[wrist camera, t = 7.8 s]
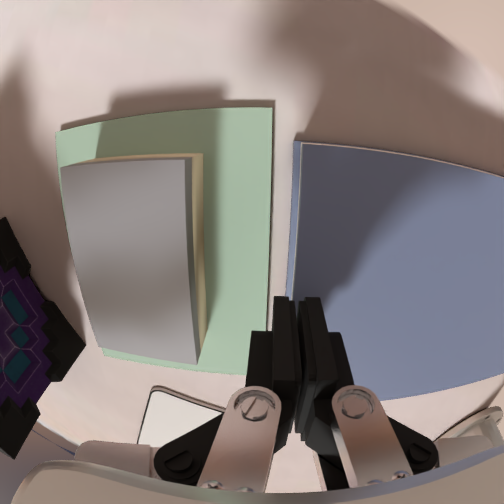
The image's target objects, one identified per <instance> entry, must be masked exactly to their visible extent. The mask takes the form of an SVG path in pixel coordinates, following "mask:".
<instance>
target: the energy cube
mask: <svg viewBox="0 0 504 504" xmlns="http://www.w3.org/2000/svg"><path fill="white" fill-rule="evenodd" d="M30 268H31V265H30V263H29V261H28V259H27V258H26V256H25V254H24V252H23V250H22V249H21V247H20V245H19V243H18V241H17V239H16V237H15V235H14V233H13V231H12V229H11V227H10V225H9V223H8V221H7V219H6V217H4V218H2V219H0V452H2V453H4V454H5V455H7V456H9V457H11V458H12V459H15V458H16V456H17V454H18V452H19V451H20V449H21V447H22V445H23V443H24V441H25V440H26V438H27V436H28V434H29V433H30V431H31V429H32V428H33V426H34V424H35V422H36V421H37V419H38V417H39V416H40V412H39V410H38V407H37V405H36V403H37V402H38V400H39V399H40V397H41V396H42V394H43V393H44V391H45V390H46V388H47V387H48V386H49V384H50V383H51V382H60V381H62V380H63V378H64V377H65V375H66V374H67V372H68V371H69V369H70V368H71V366H72V365H73V363H74V362H75V361H76V359H77V358H78V356H79V355H80V353H81V352H82V351H83V349H84V348H85V346H86V344H85V343H84V342H83V340H82V339H81V338H80V337H79V335H78V334H77V333H76V332H75V330H74V329H73V328H72V326H71V325H70V324H69V322H68V321H67V320H66V318H65V317H64V316H63V314H62V313H61V311H60V310H59V309H58V307H57V306H56V304H55V303H54V302H51V301H44V299H43V298H42V296H41V295H40V293H39V292H38V290H37V288H36V287H35V285H34V284H33V282H32V280H31V279H30V277H29V275H28V274H29V271H30Z"/></svg>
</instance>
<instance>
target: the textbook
mask: <svg viewBox="0 0 504 504" xmlns="http://www.w3.org/2000/svg"><path fill="white" fill-rule="evenodd" d="M285 296H289V300H294V301H295V308H296V317H297V311H298V302H299V301H304V298H305V297H320V299H321V303H322V307H323V311H324V315H325V320H326V324H327V328H328V332H340V333H341V335H342V339H343V342H344V346H345V350H346V353H347V357H348V361H349V365H350V368H351V372H352V376H353V380H354V384H355V385H358V386H363V387H366V388H368V389H370V390H371V391H372V392H374V393H375V394H376V396H377V397H378V399H379V401H384V400H391V399H398V398H405V397H411V396H417V395H422V394H427V393H432V392H437V391H442V390H446V389H450V388H454V387H459V386H462V385H466V384H470V383H474V382H477V381H481V380H484V379H487V378H490V377H494V376H497V375H500V374H503V373H504V176H501V175H498V174H494V173H491V172H487V171H484V170H480V169H477V168H473V167H469V166H465V165H461V164H457V163H453V162H448V161H444V160H439V159H435V158H430V157H425V156H419V155H414V154H408V153H403V152H397V151H390V150H384V149H377V148H369V147H361V146H353V145H343V144H333V143H321V142H308V141H294V145H293V175H292V198H291V218H290V235H289V252H288V266H287V280H286V293H285Z"/></svg>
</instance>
